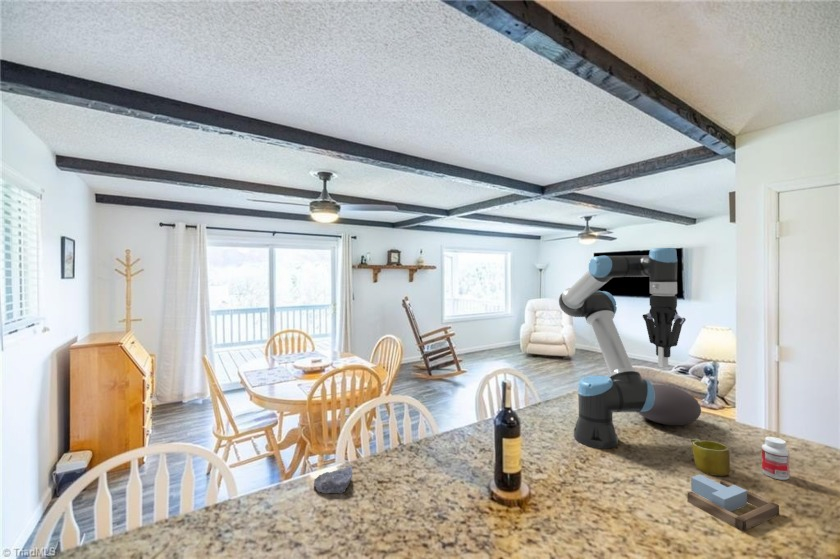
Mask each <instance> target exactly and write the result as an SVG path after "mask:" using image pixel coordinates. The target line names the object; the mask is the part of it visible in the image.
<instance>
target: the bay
mask: <svg viewBox="0 0 840 559" xmlns="http://www.w3.org/2000/svg"><path fill="white" fill-rule="evenodd" d="M719 483H720V484H722V485H724V486H726V487H730V486H732V485H735V483H734V484H733V483H732V482H729V481H727V480H724V479H722V480H719ZM743 489H744V488H743ZM744 490H746V489H744ZM747 502H748V503H747V504H750V505H751V504H752V505H751V506H753V505H754V506H753V507H756V508H754V509H752V510H750V511H747V512H745V513H743V514H740V515H738V514H736V513H734V512H733V511H732V512H730V511H728V510H726V509H724V508H722V507H720V506H718V505H716V504H714V503H712V501H710V500H708V499H706V498H704V497H702V496H700V495H698V494H696V493H694V492H692V491H688V492H687V503H690V504H691V505H693V506H695V507H696V508H699V509H700V510H702V511H704V512H706V513H707V514H710V515H711V516H713V517H715V518H717V519H719V520H720V521H722V522H724V523H725V524H727V525H729V526H732V527H733V528H735V529H737V530H738V531H741V532H745V531H747V530H749V529H751V528H753V527H755V526H757V525H760V524H762V523H764V522H767V521H769V520H771V519H773V518H775V517H777V516H779V515H780V504H777V503H775V502H773V501H770V499H767V498H764V497H762V496H760V495H758V494H755V493H754V492H751V491H748V490H747Z"/></svg>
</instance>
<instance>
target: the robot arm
mask: <svg viewBox="0 0 840 559" xmlns="http://www.w3.org/2000/svg"><path fill="white" fill-rule="evenodd" d="M677 255H678V254H677V249H676V248H675V247H655V248H651V249H650V250H649V253H648V255H646V254H645V255H644V254H643V255H599V256H593V257H592V258H591V259H590V260H589V262H588V271H587V272H586V273H584V275H582V276H581V277H580V278H579V279H578V280H577V281H576V282H575V283H574V284H573V285H572V286H571V287H568V288H566V289H565V290H563V292H562V293H561V294H560V296H559V298H558V304H559V305H558V306H559V307H560V310H562V312H563V313H564V314H566V315H567V316H569V317H573V318H585V320H586V323H587V325H590V326H591V327H592V330H593V332H594V335H595V337H596V340H597V343H598V346H599V348H600V350H601V354H602V357H603V359H604V361H605V364H606V367H607V370H608V372H609V376H605V375H594V374H593V375H588V376H584V377H583V378H581V379H580V380H579V381H578V389H577V393H578V417H577V420H576V423H575V426H574V429H573V437H574V440H576V441H577V442H578V443H580V444H583V445H586V446H587V447H590V448H591V447H592V448H597V449H613V448H615V447H617V446H618V444H619V436H618V434H617V433H616V430H615V426H614V422H613V413H637V414H639V412H645V411H649V410H650V409H651V408H652V407H653V405H654V401H655V392H654V388H653V386H652V385H653V383H651V382H650V381H649V380H648V379H643V378H642V376H641V374H640V372H639V371H637V370H635V369H634V368H633V365H632V363H631V360H630V359H629V356H628V354H627V353H628V352H627V351H626V349H625V346H624V344H623V342H622V339H621V337H620V334H619V332H618V329H617V326H616V325H615V321H614V318H615V316H616V313H617V311H618V310H617V306H616V305H617V301H616V299H615V298H614V296H613V295H612V293H610V292H608V291H605V290H603V291H601V290H600V289H601V288H603V286H604V285H605V284H607V283H608V282H609V281H610V280H612V279H613V278H624V277H625V278H626V277H627V278H628V277H630V278H632V277H633V278H635V277H636V278H639V277H640V278H643V277H644V278H645V277H649V294H651V295H650V296H649V307H650V309H649V311H648V312H647V313H646V314H642V318H643V320H644V322H645V326H646V331H647V335H648V341H649V343H651V344H653V345H655V354H656V356H657V361H658V362H657V367H660V368H667V367H669V358H670V357H671V348H673V347H677V346H678V343H679V339H680V334H681V332H682V327H683V325H684V323H685V322H686V318H685V317H681V316H680V315H679V313H678V311H677V307H678V296H677V294H678V256H677Z"/></svg>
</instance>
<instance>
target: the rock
mask: <svg viewBox="0 0 840 559" xmlns="http://www.w3.org/2000/svg"><path fill="white" fill-rule="evenodd" d="M353 468H354V467H353V465H351V464H350V465H347V466H346V467H343V468H339V469H337V470H333V471H330V472H329V471H327V472H324V473H322V474H319V475H318V476H317V477H316V478H314V480H313V485H314V487H315V489H316V491H317V492H318V493H320V492H322V494H333V493H334V494H340V495H342V494H343V492H344V493H345V491H346V488H348V487H349V484H350V482H351V481H352V477H353V476H354V475H353V474H354V473H353ZM341 493H342V494H341Z"/></svg>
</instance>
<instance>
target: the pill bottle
mask: <svg viewBox="0 0 840 559" xmlns="http://www.w3.org/2000/svg"><path fill="white" fill-rule="evenodd" d="M786 447H787V442H786V441H785V440H784V439H782V438H779V437H775V436H766V437H765V438H764V444H762V445H761V471H762V473H763V474H764V475H766V476H767V477H770V478H771V479H776V480H779V481H780V480H781V481H786V480H787V481H788V479H790V452H789V450H788V449H787V448H786Z"/></svg>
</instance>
